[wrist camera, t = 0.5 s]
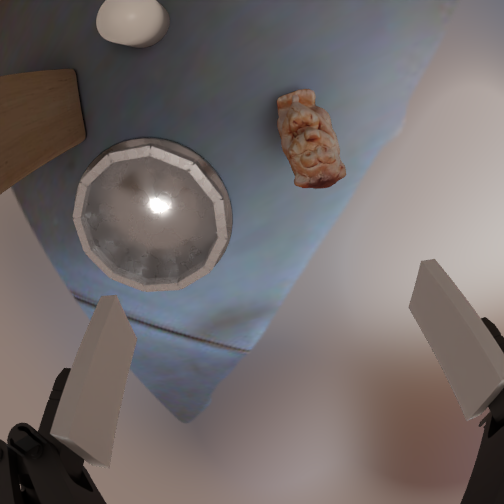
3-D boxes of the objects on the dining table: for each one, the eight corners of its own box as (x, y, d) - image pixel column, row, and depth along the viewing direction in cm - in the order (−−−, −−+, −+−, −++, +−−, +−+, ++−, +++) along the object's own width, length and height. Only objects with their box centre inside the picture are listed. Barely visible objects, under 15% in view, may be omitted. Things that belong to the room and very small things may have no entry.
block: (32, 157, 33) (-66, 226, 16) (19, 90, 27) (-92, 127, 10) (90, 139, 33) (-12, 206, 16) (78, 66, 27) (-39, 80, 10)
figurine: (306, 84, 31) (353, 91, 18) (325, 142, 35) (376, 185, 22) (256, 100, 32) (271, 116, 19) (278, 158, 36) (304, 210, 23)
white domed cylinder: (118, 9, 24) (95, -2, 18) (168, -3, 24) (153, -19, 18) (122, 53, 27) (98, 49, 21) (171, 42, 27) (157, 34, 22)
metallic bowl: (60, 155, 33) (51, 160, 31) (223, 125, 33) (223, 129, 31) (103, 288, 45) (98, 298, 43) (239, 279, 45) (239, 289, 43)
